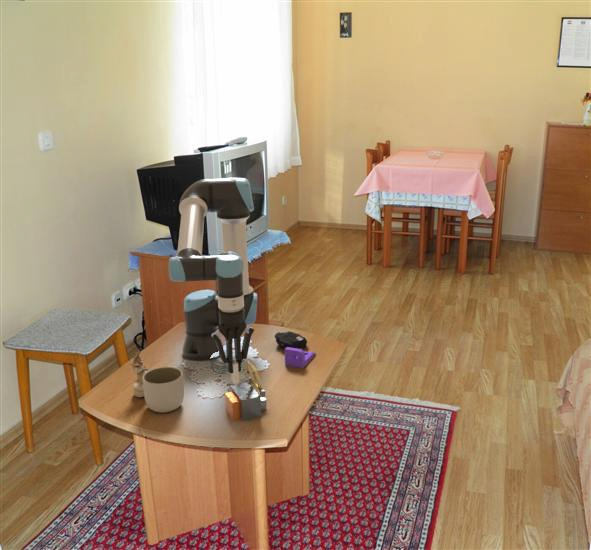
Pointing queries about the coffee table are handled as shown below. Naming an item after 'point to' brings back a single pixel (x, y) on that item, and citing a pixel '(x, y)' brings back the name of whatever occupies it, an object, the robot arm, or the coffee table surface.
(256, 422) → the coffee table surface
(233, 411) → the orange drawer
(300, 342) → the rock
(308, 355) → the bracket
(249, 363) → the keeper
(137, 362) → the figurine
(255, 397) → the block
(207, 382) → the coffee table surface
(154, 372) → the planter
